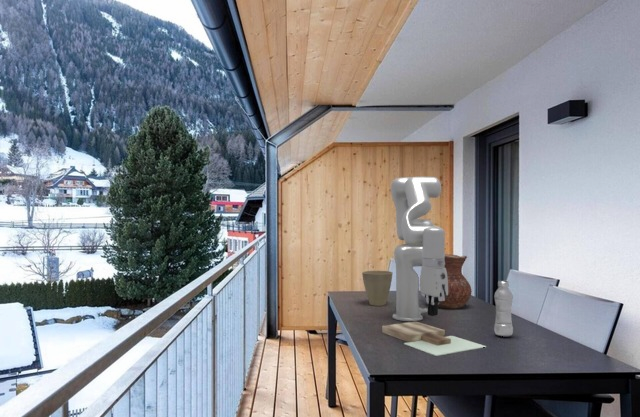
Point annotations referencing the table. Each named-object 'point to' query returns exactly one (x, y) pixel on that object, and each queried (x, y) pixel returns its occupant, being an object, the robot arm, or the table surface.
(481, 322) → the table surface
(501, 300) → the plastic bottle
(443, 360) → the table surface
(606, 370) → the table surface
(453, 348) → the sage mat
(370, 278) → the plant pot
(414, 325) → the board
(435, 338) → the walnut tile
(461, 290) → the jug
